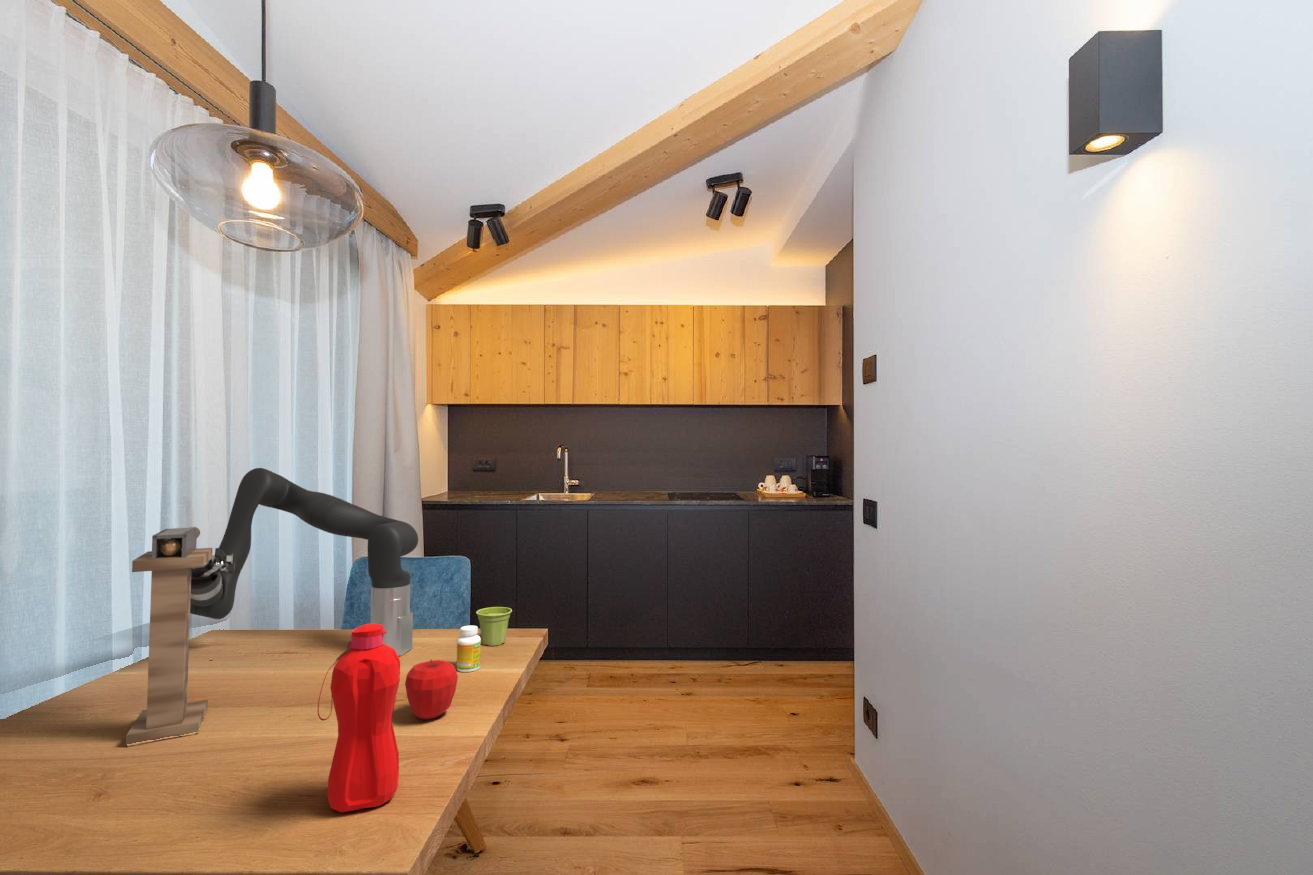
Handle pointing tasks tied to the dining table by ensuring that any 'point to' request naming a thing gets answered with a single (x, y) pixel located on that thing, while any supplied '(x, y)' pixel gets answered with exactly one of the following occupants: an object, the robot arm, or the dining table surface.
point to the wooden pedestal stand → (169, 648)
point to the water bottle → (364, 722)
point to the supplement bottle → (468, 649)
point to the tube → (174, 545)
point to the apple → (431, 688)
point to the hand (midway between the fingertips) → (192, 553)
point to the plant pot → (493, 624)
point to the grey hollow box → (185, 533)
